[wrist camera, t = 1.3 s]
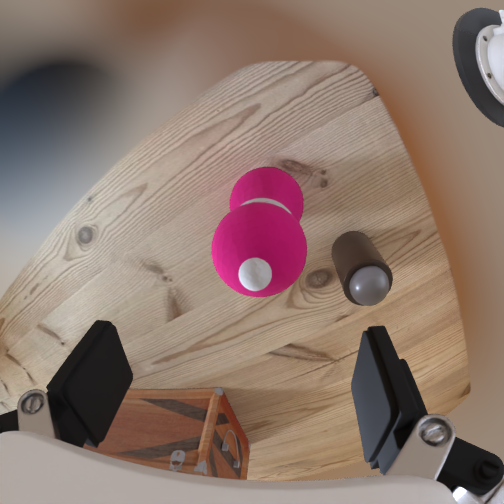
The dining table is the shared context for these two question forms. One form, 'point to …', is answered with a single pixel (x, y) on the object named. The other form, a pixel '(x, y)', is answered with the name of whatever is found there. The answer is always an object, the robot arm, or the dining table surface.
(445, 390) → the dining table surface
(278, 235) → the pepper mill
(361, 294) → the salt shaker
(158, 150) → the dining table surface
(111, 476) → the robot arm
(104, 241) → the dining table surface
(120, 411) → the wooden box
